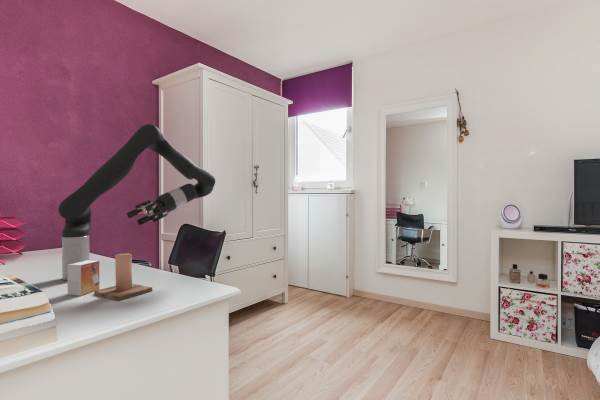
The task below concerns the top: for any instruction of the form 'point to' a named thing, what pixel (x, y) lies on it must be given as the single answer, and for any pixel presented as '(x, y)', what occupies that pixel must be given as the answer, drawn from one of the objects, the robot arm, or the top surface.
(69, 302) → the top surface
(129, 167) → the robot arm
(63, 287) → the top surface
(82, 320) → the top surface
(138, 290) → the walnut board
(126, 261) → the terracotta canister
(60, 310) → the top surface
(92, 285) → the small box
